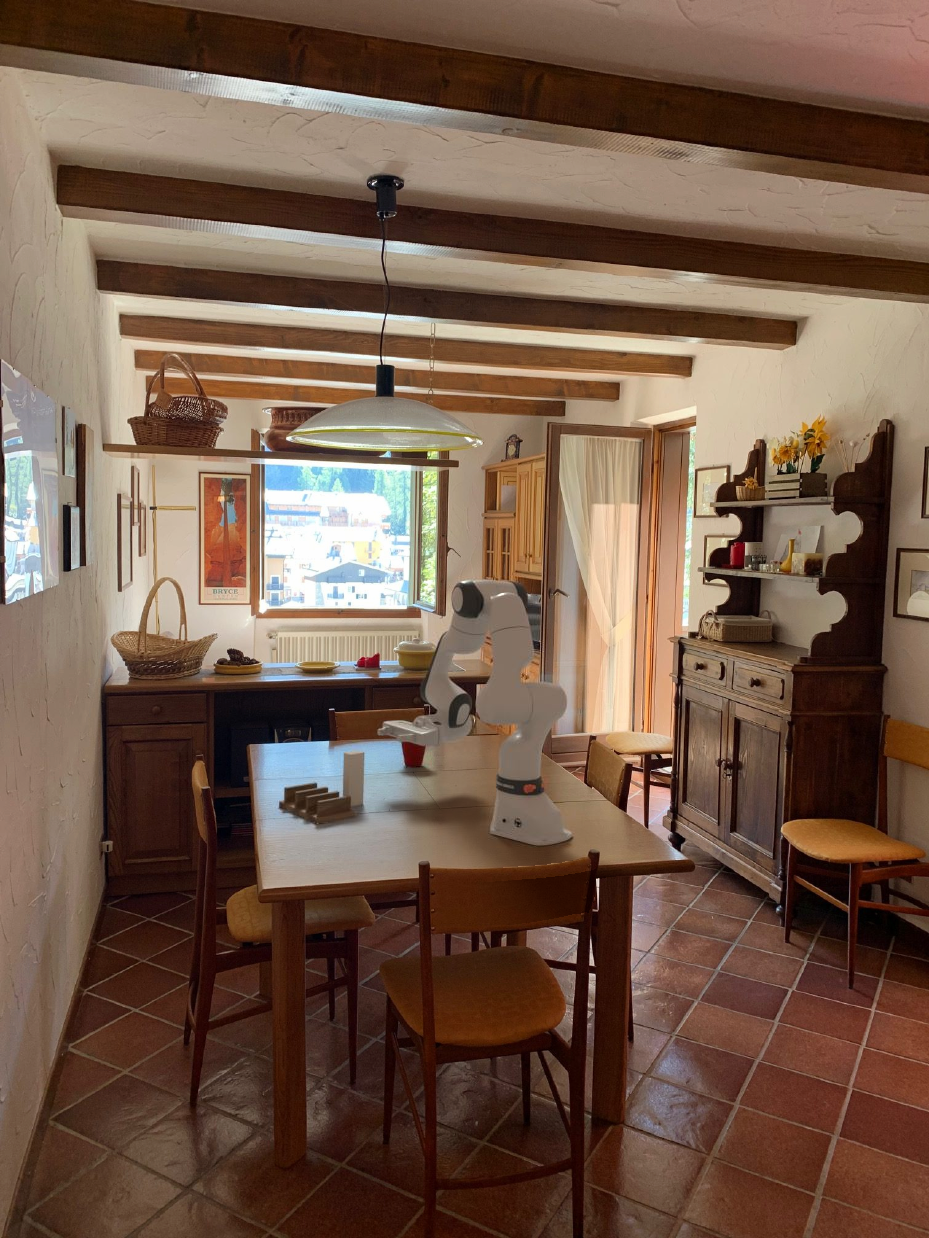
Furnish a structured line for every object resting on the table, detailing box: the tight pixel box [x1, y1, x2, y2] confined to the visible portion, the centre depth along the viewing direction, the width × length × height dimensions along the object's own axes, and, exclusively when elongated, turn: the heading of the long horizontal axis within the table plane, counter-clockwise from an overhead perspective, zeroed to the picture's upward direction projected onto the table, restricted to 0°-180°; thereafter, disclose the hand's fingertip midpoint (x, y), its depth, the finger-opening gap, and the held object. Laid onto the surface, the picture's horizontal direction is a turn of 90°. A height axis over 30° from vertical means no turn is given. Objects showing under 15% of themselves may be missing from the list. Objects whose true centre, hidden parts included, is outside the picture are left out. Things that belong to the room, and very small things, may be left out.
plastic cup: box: [400, 741, 427, 768], centre depth 311 cm, size 11×11×12 cm
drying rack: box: [278, 781, 357, 824], centre depth 254 cm, size 20×12×6 cm, turn 42°
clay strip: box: [342, 749, 365, 807], centre depth 262 cm, size 3×5×15 cm, turn 131°
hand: (388, 735), depth 269 cm, fingers open, 8 cm apart
